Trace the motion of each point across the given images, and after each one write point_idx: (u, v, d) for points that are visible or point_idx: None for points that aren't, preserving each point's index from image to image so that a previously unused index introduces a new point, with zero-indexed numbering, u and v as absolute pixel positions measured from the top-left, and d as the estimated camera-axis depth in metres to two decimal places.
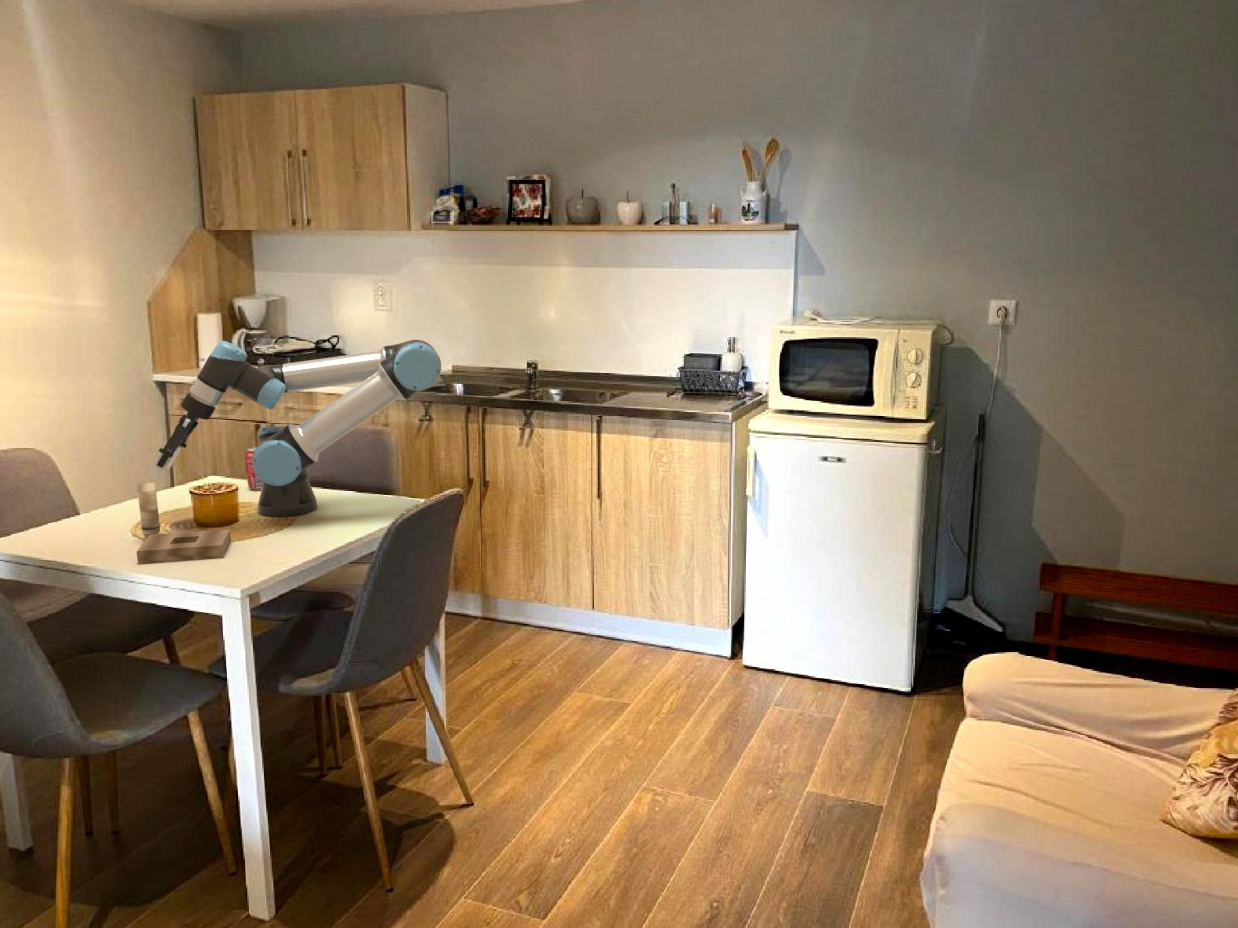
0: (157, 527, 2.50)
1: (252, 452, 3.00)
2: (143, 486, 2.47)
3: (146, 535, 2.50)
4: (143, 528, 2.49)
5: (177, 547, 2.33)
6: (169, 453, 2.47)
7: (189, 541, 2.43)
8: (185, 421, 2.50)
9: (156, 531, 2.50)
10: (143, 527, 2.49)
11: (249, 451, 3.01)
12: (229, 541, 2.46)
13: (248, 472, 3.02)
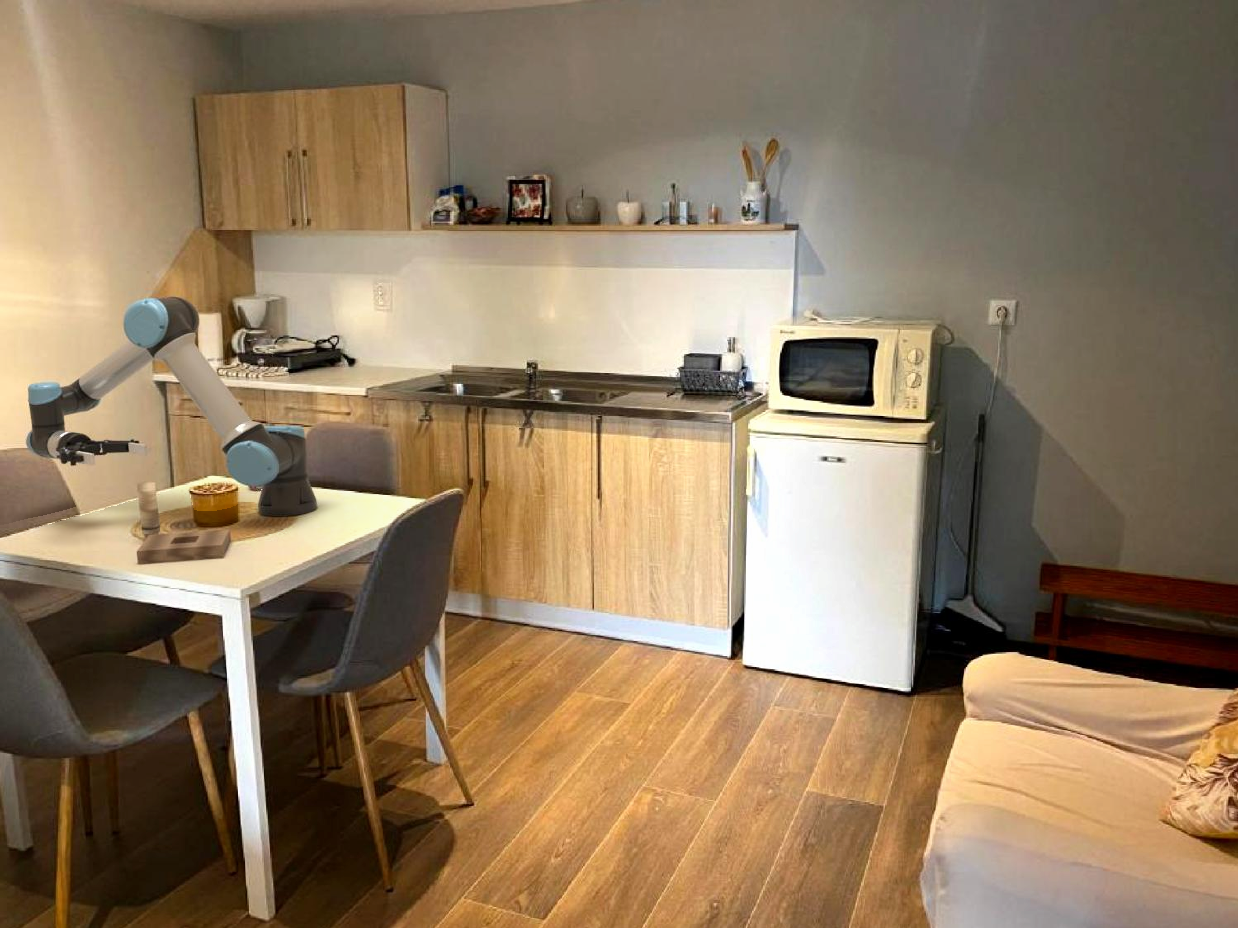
0: (157, 527, 2.50)
1: None
2: (143, 486, 2.47)
3: (146, 535, 2.50)
4: (143, 528, 2.49)
5: (177, 547, 2.33)
6: (61, 456, 2.48)
7: (189, 541, 2.43)
8: (56, 454, 2.55)
9: (156, 531, 2.50)
10: (143, 527, 2.49)
11: None
12: (229, 541, 2.46)
13: None
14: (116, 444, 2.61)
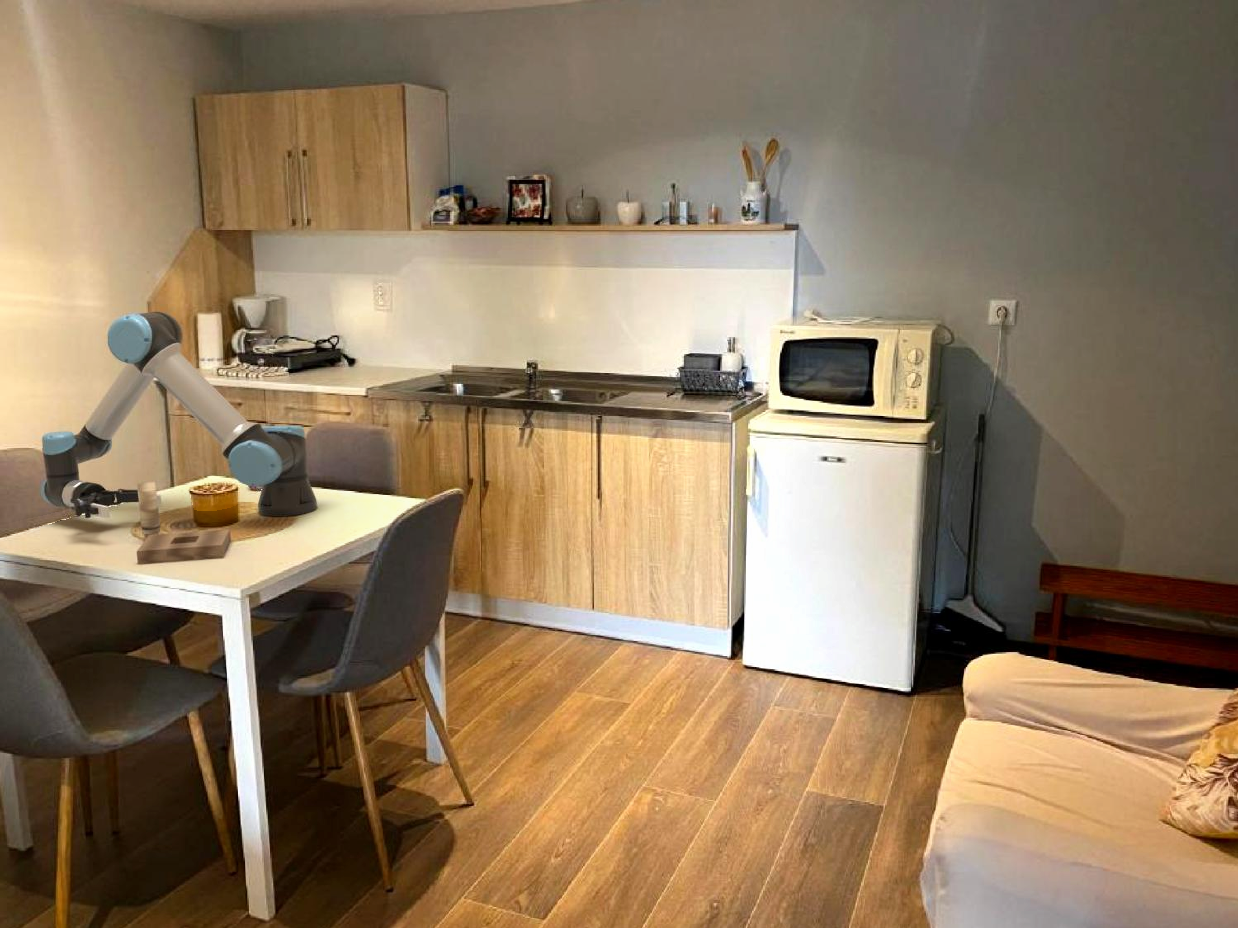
0: (157, 527, 2.50)
1: None
2: (143, 486, 2.47)
3: (146, 535, 2.50)
4: (143, 528, 2.49)
5: (177, 547, 2.33)
6: (75, 508, 2.48)
7: (189, 541, 2.43)
8: (71, 505, 2.55)
9: (156, 531, 2.50)
10: (143, 527, 2.49)
11: None
12: (229, 541, 2.46)
13: None
14: (130, 494, 2.61)
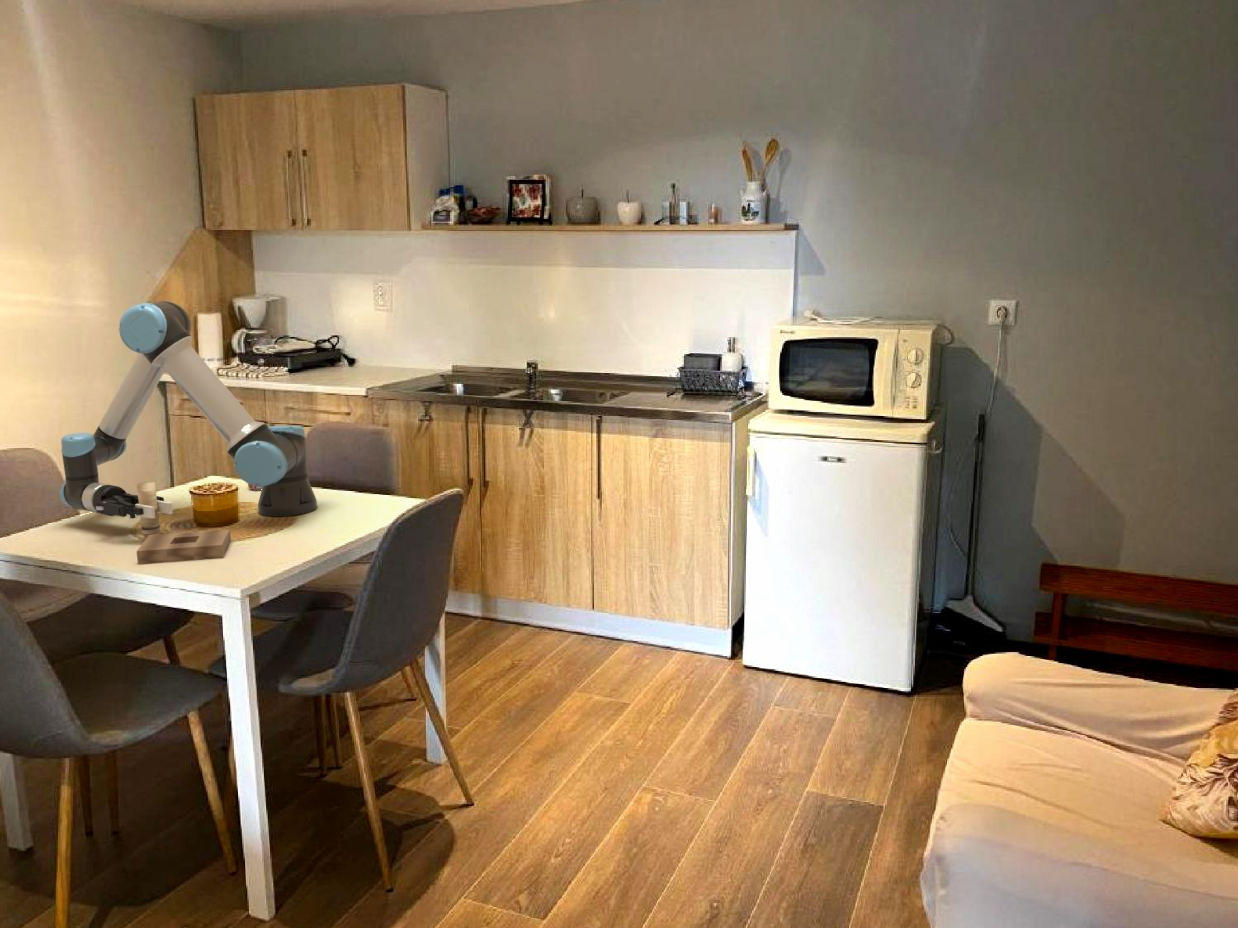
0: (157, 527, 2.50)
1: None
2: (143, 486, 2.47)
3: (146, 535, 2.50)
4: (143, 528, 2.49)
5: (177, 547, 2.33)
6: (120, 509, 2.46)
7: (189, 541, 2.43)
8: (97, 509, 2.50)
9: (156, 531, 2.50)
10: (143, 527, 2.49)
11: None
12: (229, 541, 2.46)
13: None
14: None
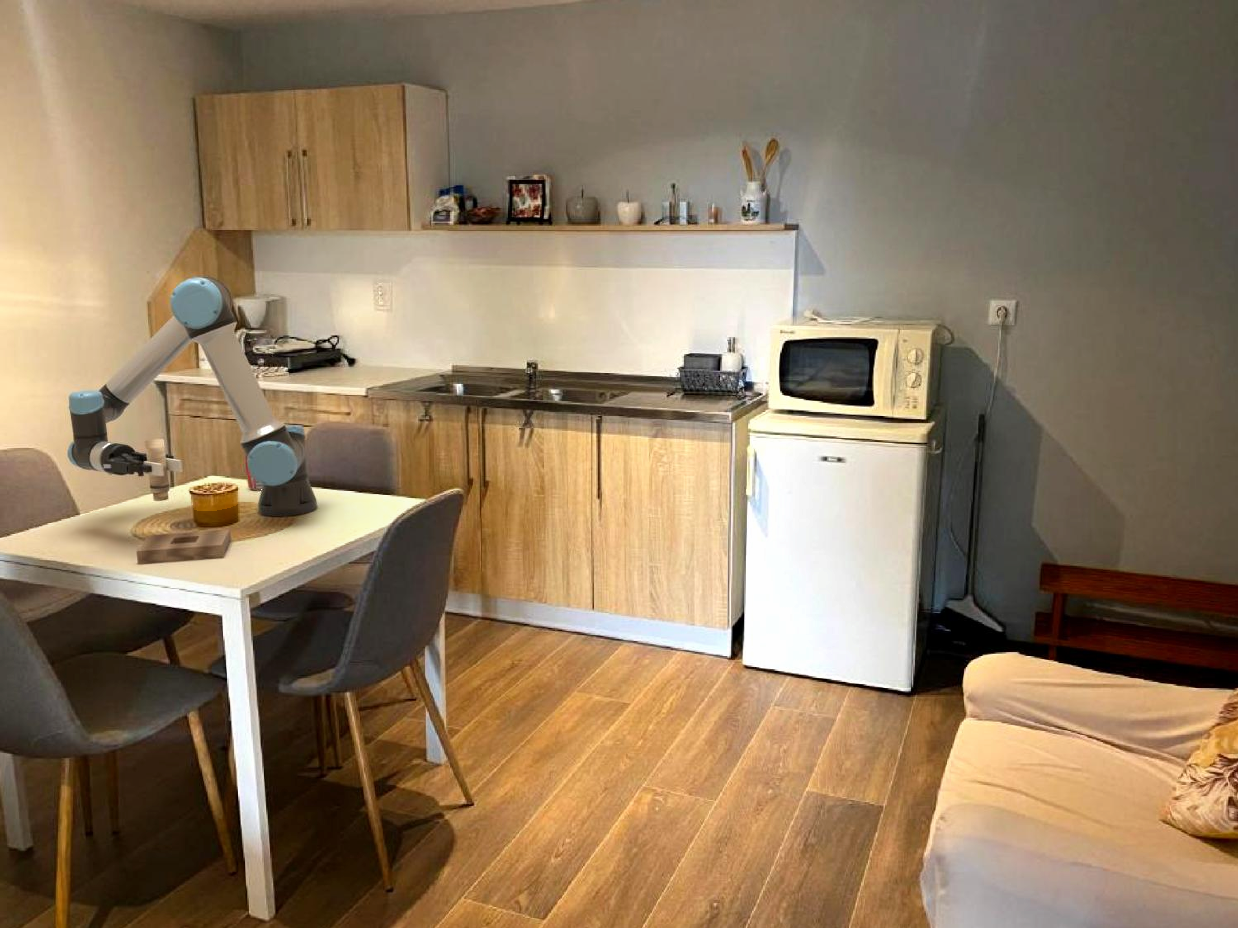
0: (166, 486, 2.40)
1: None
2: (151, 442, 2.37)
3: (155, 494, 2.40)
4: (151, 487, 2.39)
5: (177, 547, 2.33)
6: (128, 466, 2.37)
7: (189, 541, 2.43)
8: (105, 467, 2.41)
9: (165, 490, 2.40)
10: (151, 486, 2.39)
11: None
12: (229, 541, 2.46)
13: (248, 472, 3.02)
14: None
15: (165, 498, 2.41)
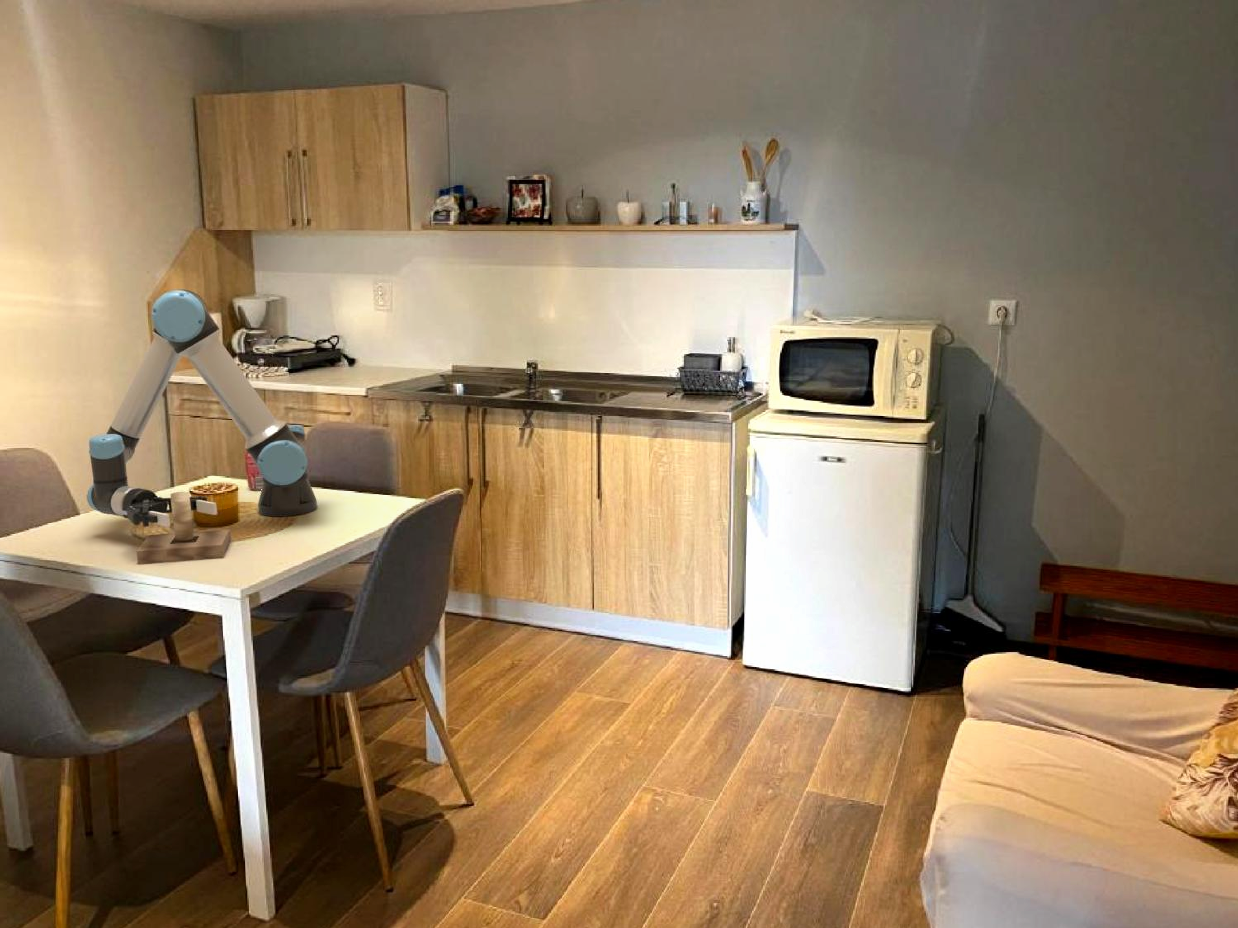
0: (191, 539, 2.39)
1: None
2: (177, 496, 2.36)
3: None
4: (177, 540, 2.38)
5: (177, 547, 2.33)
6: (133, 516, 2.33)
7: None
8: (123, 513, 2.39)
9: None
10: (177, 539, 2.38)
11: None
12: (229, 541, 2.46)
13: (248, 472, 3.02)
14: None
15: None
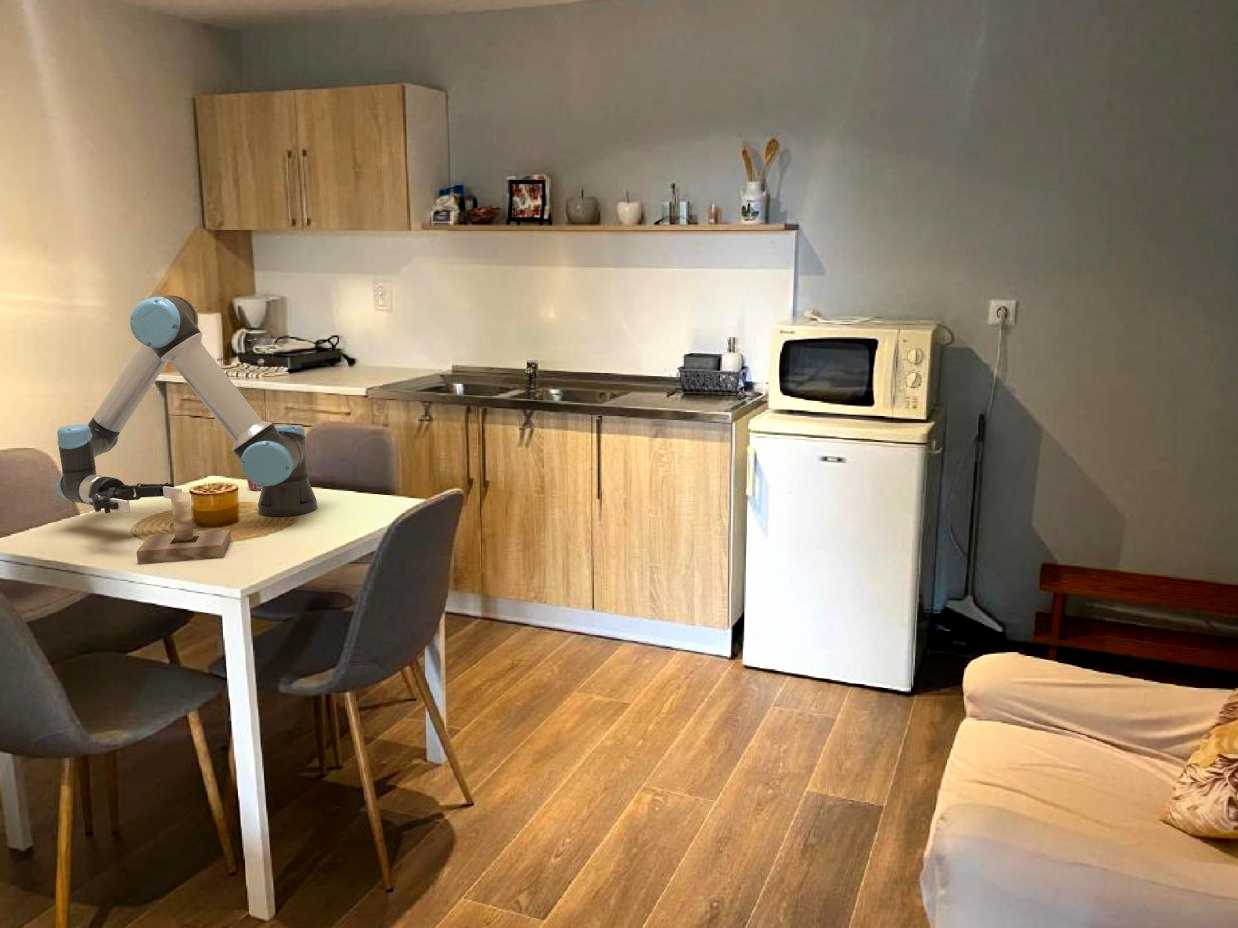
0: (191, 539, 2.39)
1: None
2: (177, 496, 2.36)
3: None
4: (177, 540, 2.38)
5: (177, 547, 2.33)
6: (94, 503, 2.39)
7: None
8: (89, 500, 2.46)
9: None
10: (177, 539, 2.38)
11: None
12: (229, 541, 2.46)
13: None
14: (150, 488, 2.52)
15: None
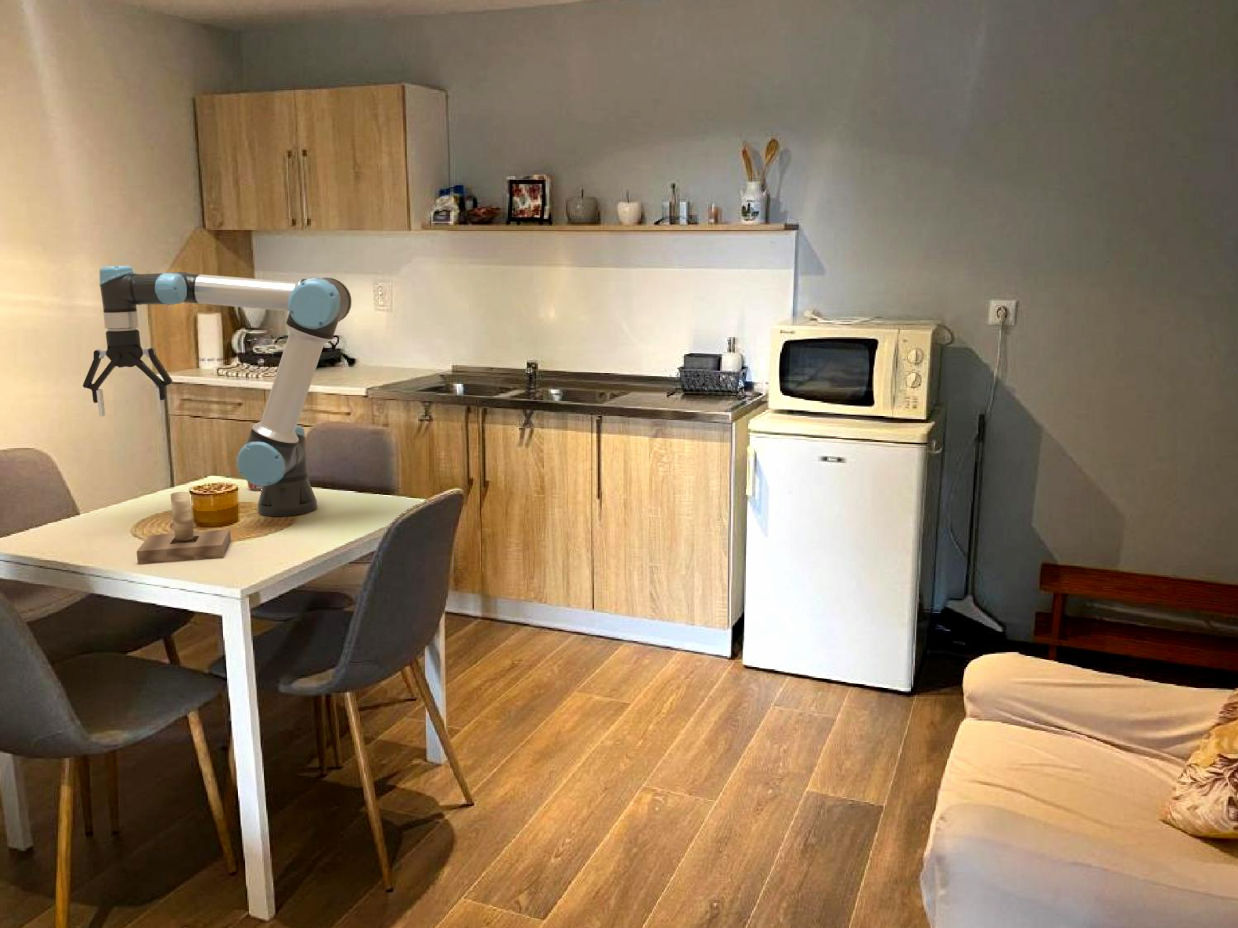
0: (191, 539, 2.39)
1: None
2: (177, 496, 2.36)
3: None
4: (177, 540, 2.38)
5: (177, 547, 2.33)
6: None
7: None
8: None
9: None
10: (177, 539, 2.38)
11: None
12: (229, 541, 2.46)
13: None
14: None
15: None
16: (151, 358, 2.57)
